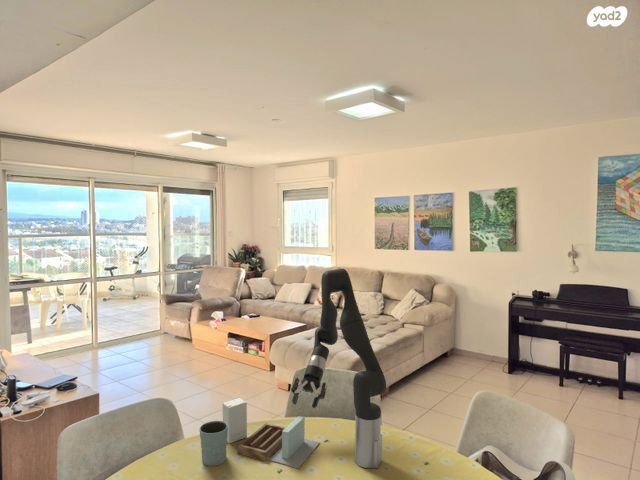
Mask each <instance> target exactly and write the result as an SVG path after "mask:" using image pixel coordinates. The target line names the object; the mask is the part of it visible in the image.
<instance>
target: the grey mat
mask: <svg viewBox="0 0 640 480" xmlns="http://www.w3.org/2000/svg"><path fill="white" fill-rule="evenodd" d="M320 443H321V442H319V441H314V440H310V439H306V438H304V443H303V444H302V445H301V446H300V447H299V448H298V449H297V450H296V451H295V452H294V453H293V455H292V456H291V457H290V458H289V459H284V458H282V446H281V447H279V448H278V449H277V450H276V451H275V452H274V453H273V454H272V455H271V456H270V457H269V458H268V462H272V463H276V464H280V465H284V466H287V467H292V468H294V469H299V468H300V467H302V465H304V463H305V462H306V460H307V459H308V458H309V457H310V455H312V454H313V452H314V451H315V450H316V449H317V448H318V447H319V445H320Z"/></svg>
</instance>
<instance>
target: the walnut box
mask: <svg viewBox="0 0 640 480" xmlns="http://www.w3.org/2000/svg"><path fill="white" fill-rule="evenodd" d="M285 428H286V427H284V426H280V425H275V424H272V423H268V422H267V423H264V424H263V425H262V426H260V427H259V428H258V429H257V430H255V431H254V432H253V433H252V434H250V435H249V436H247V437H246V439H245V440H243V441H242V442H241V443H240V444H238V448H237V449H238V454H239V455H241V456H246V457H251V458H254V459H257V460H262V461H265V462H266V461H267V460H269V459H270V458H271V457H272V456H273V455H274V454H275V453H276V452H277V451H278V450H279V449H280V448H281V447H282V431H283V430H284V429H285Z"/></svg>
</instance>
